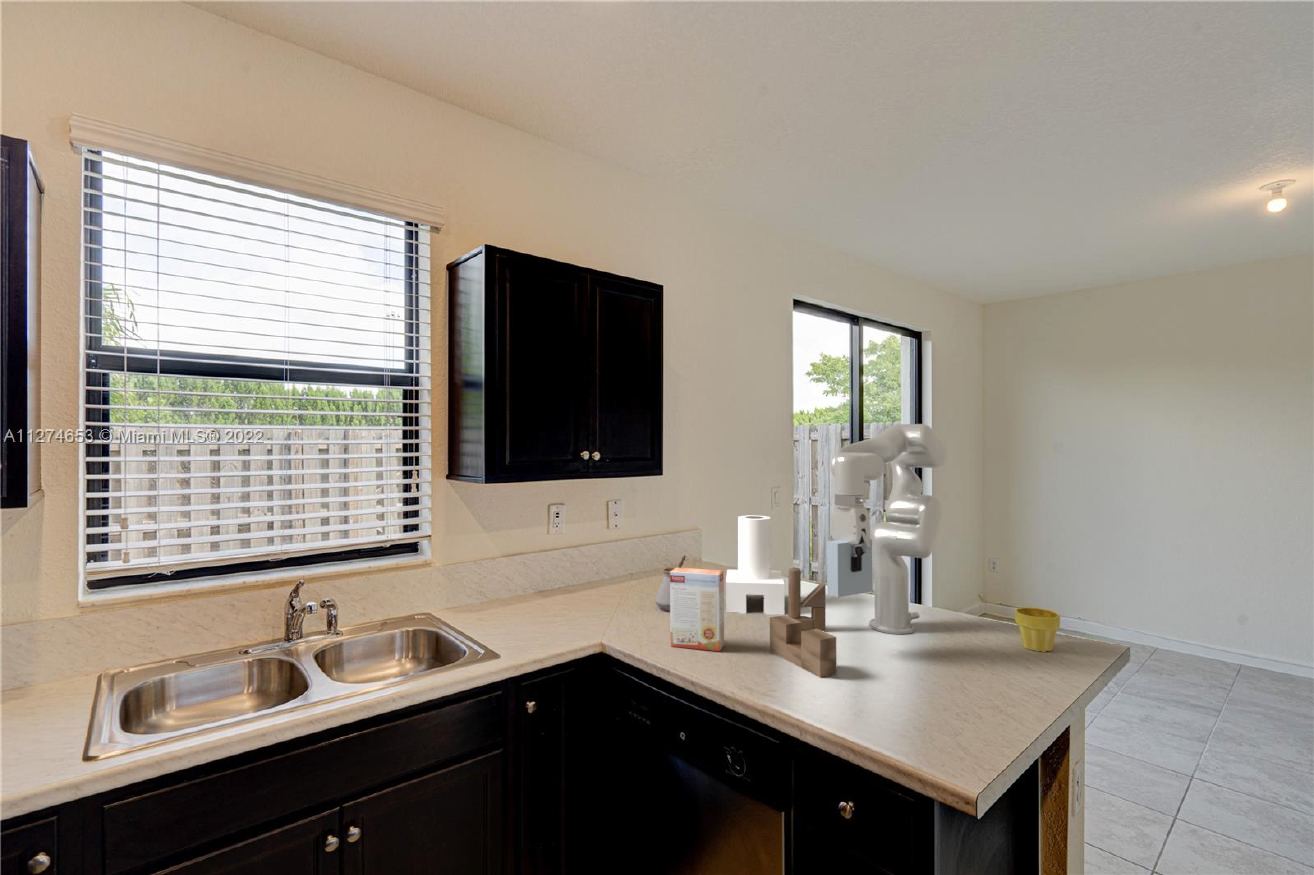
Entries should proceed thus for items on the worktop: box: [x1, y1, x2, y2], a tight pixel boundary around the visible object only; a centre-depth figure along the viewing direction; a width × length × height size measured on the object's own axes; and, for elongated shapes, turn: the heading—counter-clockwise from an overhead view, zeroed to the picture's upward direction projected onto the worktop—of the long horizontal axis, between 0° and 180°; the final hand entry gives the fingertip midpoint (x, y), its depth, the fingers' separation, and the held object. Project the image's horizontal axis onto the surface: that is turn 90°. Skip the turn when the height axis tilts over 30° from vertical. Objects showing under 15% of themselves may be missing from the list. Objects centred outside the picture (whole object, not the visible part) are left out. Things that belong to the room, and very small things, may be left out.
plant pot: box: [1014, 606, 1061, 653], centre depth 167 cm, size 10×10×10 cm
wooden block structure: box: [787, 567, 826, 632], centre depth 183 cm, size 4×11×18 cm, turn 86°
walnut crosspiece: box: [769, 614, 837, 678], centre depth 157 cm, size 5×20×9 cm, turn 26°
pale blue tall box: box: [826, 538, 873, 598], centre depth 164 cm, size 12×4×14 cm, turn 116°
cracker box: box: [669, 567, 725, 652], centre depth 169 cm, size 14×6×21 cm, turn 71°
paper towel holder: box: [725, 514, 785, 615], centre depth 208 cm, size 19×19×30 cm
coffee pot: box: [654, 554, 689, 612], centre depth 210 cm, size 21×12×15 cm, turn 160°
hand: (849, 568), depth 164 cm, fingers closed on pale blue tall box, 4 cm apart
